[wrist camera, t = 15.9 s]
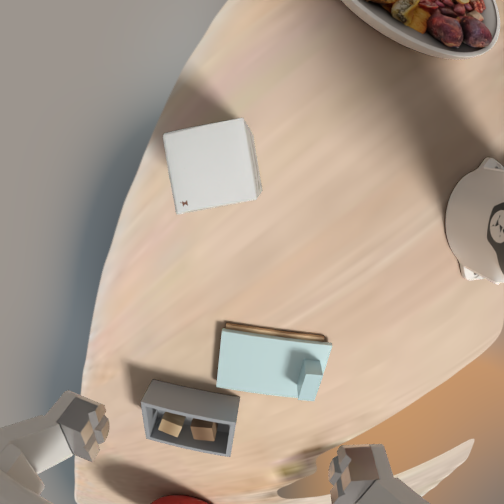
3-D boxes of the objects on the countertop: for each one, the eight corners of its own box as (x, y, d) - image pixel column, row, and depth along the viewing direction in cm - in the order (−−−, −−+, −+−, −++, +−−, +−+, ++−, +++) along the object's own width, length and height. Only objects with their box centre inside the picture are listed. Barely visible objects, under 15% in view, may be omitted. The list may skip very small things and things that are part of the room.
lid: (331, 342, 41) (336, 359, 37) (314, 396, 44) (316, 414, 40) (222, 328, 42) (217, 344, 38) (217, 383, 45) (212, 401, 40)
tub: (240, 397, 46) (235, 422, 40) (234, 433, 48) (230, 457, 43) (152, 379, 46) (140, 401, 40) (156, 416, 49) (146, 438, 43)
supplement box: (264, 191, 37) (258, 203, 25) (205, 200, 38) (173, 216, 26) (255, 133, 35) (245, 115, 23) (196, 143, 36) (159, 133, 24)
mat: (324, 335, 42) (324, 337, 41) (305, 396, 45) (305, 398, 44) (226, 322, 42) (226, 324, 41) (219, 385, 45) (219, 387, 45)
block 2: (216, 408, 46) (211, 428, 41) (218, 421, 47) (214, 441, 42) (196, 406, 46) (190, 426, 42) (199, 420, 47) (193, 439, 43)
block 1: (188, 407, 46) (182, 427, 42) (184, 418, 47) (177, 437, 43) (170, 400, 46) (162, 418, 42) (165, 411, 47) (158, 429, 43)
